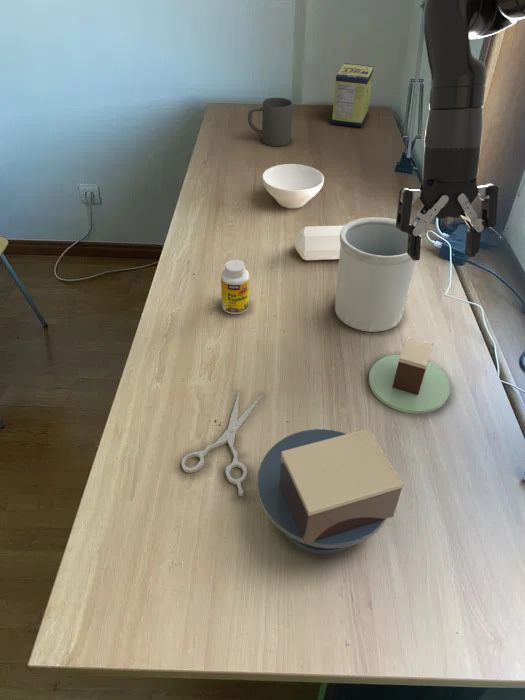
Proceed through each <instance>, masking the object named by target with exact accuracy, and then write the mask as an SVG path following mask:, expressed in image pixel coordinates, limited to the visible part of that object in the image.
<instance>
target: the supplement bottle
mask: <svg viewBox="0 0 525 700" xmlns="http://www.w3.org/2000/svg"><path fill="white" fill-rule="evenodd" d="M220 290H221V291H220V293H221V308H222V310H223V311H224V312H226V313H228V314H230V315H239V314H243V313H245V312H247V310H248V309H249V306H250V274H249V271H248V270H247V269H246V263H245V262H244V261H242V260H239V259H231V260H228V261H226V262H225V263H224V270H222V272H221V273H220Z"/></svg>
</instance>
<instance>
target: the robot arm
mask: <svg viewBox="0 0 525 700" xmlns="http://www.w3.org/2000/svg"><path fill="white" fill-rule="evenodd" d="M523 20H525V0H425V2H424V7H423V13H422V28H423V35H424V41H425V49H426V55H427V62H428V66H429V70H430V76H431V78H430V79H431V81H430V90H429V105H428V109H429V110H428V115H427V120H426V125H425V135H424V137H423V143H424V148H423V149H424V150H423V151H424V152H423V164H422V182H421V186H420V187H419V189H409V188H406V187H402V188H400V189H399V191H398V192H399V193H398V202H397V213H396V219H395V220H396V228H397V229H399V230H401V231H402V232H406V233H407V234H408V244H407V253H408V255H409V256H410V257H411V259H413V260H414V261H416V262H417V261H420V259H421V248H422V243H421V239H422V235H421V234H422V232H423V231H424V230H425V228H426V227H427V226H428V225H429V224H431V223H432V221H433V220H434V219H435V218H436V219H439V220H440V219H441V220H442V219H447V218H454V219H455V218H460V217H461V218H462V219H463V220H464V222H465V223H466V226H467V227H468V228H469V229H467V230H466V237H465V246H464V255H465V256H466V257H468V258H475V257H476V254H478V253H479V252H480V246H481V240H482V239H481V238H482V233H483V231H484V230H486V229H488V228H494V227H495V226H496V224H497V215H498V200H499V187H498V186H497V185H495V184H492V183H484V184H483V185H478V183H477V181H478V180H477V179H478V177H479V176H478V175H479V169H480V159H481V148H482V140H483V139H482V138H483V130H484V108H483V107H484V102H485V93H486V82H487V67H486V64H485V63H484V62H483V61H482V60H480V59H478V58H476V57H474V55H473V54H472V50H471V49H472V48H471V41H470V40H476V39H482V38H486V37H489V36H492V35H495V34H498V33H500V32H501V31H504V30H506V29H508V28H510V27H512V26H514V25H516V24H517V23H519V22H520V21H523ZM477 197H478V199H479V200H481V209H480V219H479V216H478V213H477V212H476V210H475V209H474V207H473V206H472V204H473V202H474V201H475V199H476V198H477ZM418 199H419V200H420V202H421V203H422V205H421V207H420V208H419V210H417V212H416V213H415V217H414V218H413V220H412V221H411V215H412V206H413V205H415V204H416V202H417V200H418ZM419 234H420V235H419Z"/></svg>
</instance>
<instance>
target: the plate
mask: <svg viewBox="0 0 525 700" xmlns="http://www.w3.org/2000/svg"><path fill="white" fill-rule="evenodd" d="M400 355H401V353H400V354H399V353H398V354H396V353H395V354H391V355H387V356H384V357H382V358H380V359H378V360H377V361H376V362H374V363H373V364H372V365H371V368H370V370H369V373H368V386H369V388H370V390H371V392H372V393H373V395H374V397H375V398H377V400H378V401H380V402H381V403H382V404H383V405H386V406H387V407H388V408H390V409H392V410H395V411H398V412H402V413H405V414H415V415H419V414H420V415H421V414H427V413H431V412H434V411H436V410H438V409H440V408H441V407H442V406H443V405H444V404H445V403H446V402H447V401H448V398H449V395H450V391H451V386H450V384H451V383H450V380H449V379H448V377H447V375H446V373H444V371H443V370H442V369H441V368H440V367H439V366H437V365H436V364H434V363H433V362H432V361H430V360H429V361H428V364H427V367H426V371H425V374H424V377H423V381H422V384H421V387H420V391H419V394H418V395H416V394H412V393H409V392H406V391H402V390H399V389H395V388H392V387H393V383H394V378H395V374H396V370H397V366H398V362H399V358H400Z"/></svg>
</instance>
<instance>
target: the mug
mask: <svg viewBox="0 0 525 700" xmlns="http://www.w3.org/2000/svg"><path fill="white" fill-rule="evenodd" d="M254 112H262V119H261V122H262V123H261V126H262V128H261V129H259V128H258V127H257V126H256V125H255V124H254V123H253V119H252V118H253V113H254ZM292 119H293V101H292V100H290V99H288V98H284V97H269V98H266V99H264V100H263V101H262V107H253V108H251V109H249V110H248V114H247V121H248V125H249V127H250V128H251V129H252V130H253V131H254V132H255V133H257V134H260V135H261V136H262V143H264V144H265V145H267V146H271V147H284V146H287V145H289V144H290V142H291V139H292V138H291V137H292V123H293V121H292Z"/></svg>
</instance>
